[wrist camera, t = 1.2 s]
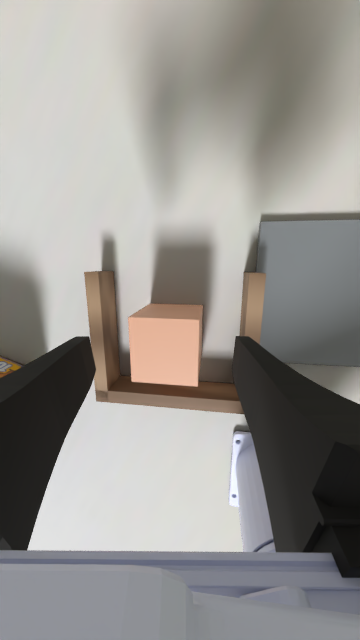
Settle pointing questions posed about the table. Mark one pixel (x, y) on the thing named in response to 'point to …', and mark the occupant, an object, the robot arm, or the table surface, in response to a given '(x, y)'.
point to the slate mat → (311, 291)
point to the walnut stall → (153, 394)
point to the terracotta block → (166, 344)
